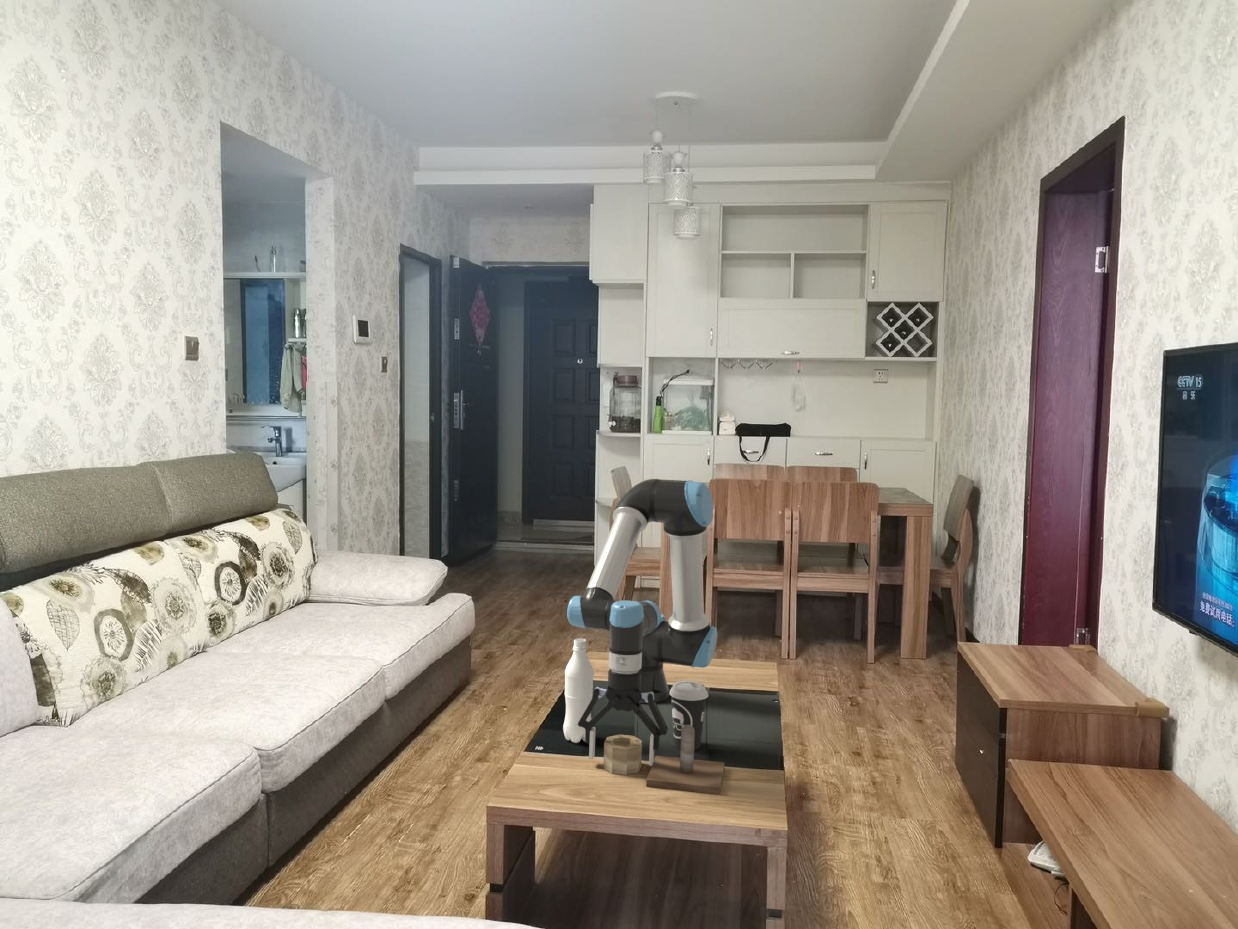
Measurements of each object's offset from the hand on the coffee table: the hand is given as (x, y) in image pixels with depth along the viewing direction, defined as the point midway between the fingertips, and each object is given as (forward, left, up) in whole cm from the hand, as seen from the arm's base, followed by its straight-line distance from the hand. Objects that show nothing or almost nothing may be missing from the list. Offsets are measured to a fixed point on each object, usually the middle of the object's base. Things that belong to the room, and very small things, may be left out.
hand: (621, 761), depth 206 cm
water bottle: (-14, -14, -2) cm, 20 cm away
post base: (+2, +15, -2) cm, 15 cm away
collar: (0, 0, -2) cm, 2 cm away
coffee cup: (-17, +13, -2) cm, 22 cm away
